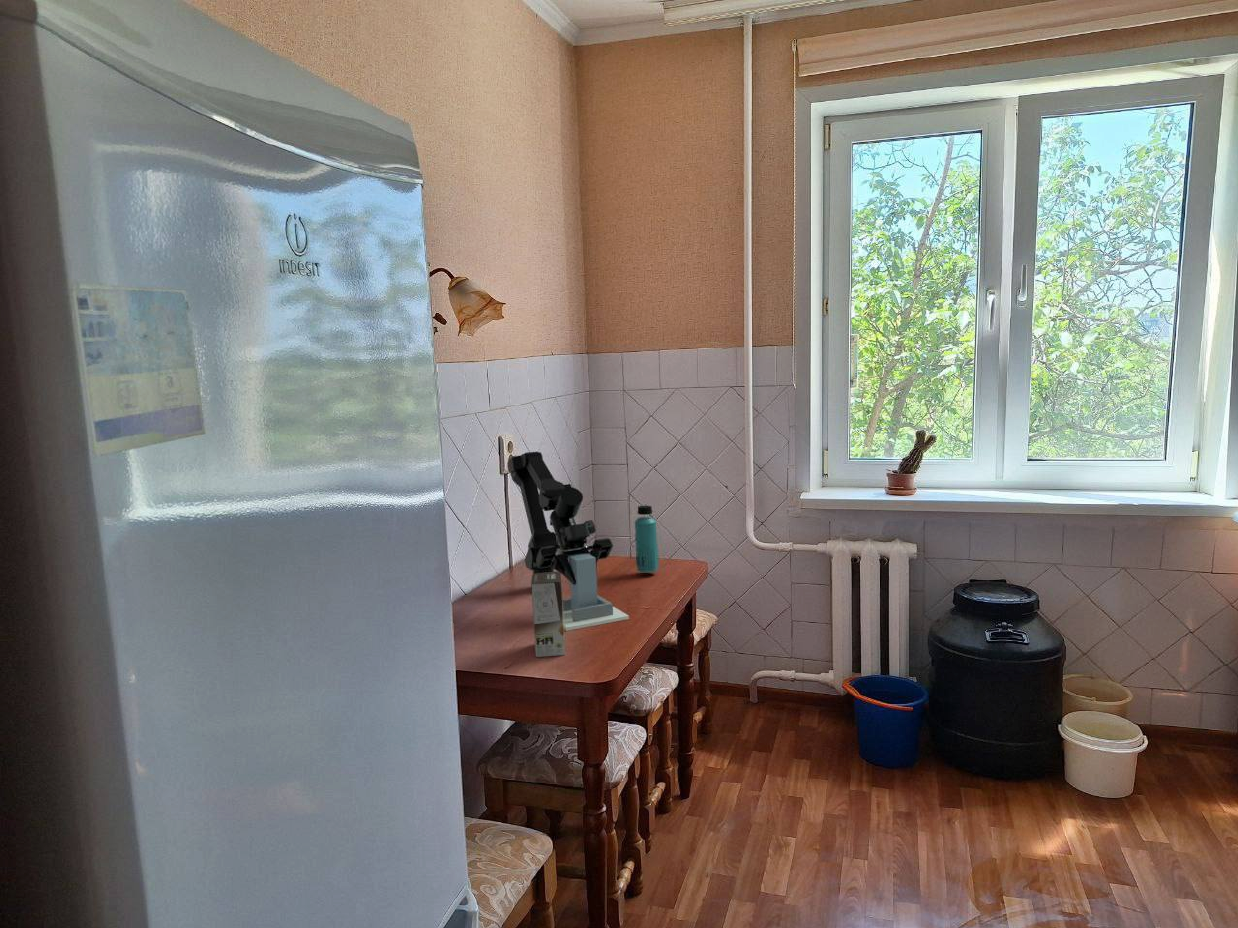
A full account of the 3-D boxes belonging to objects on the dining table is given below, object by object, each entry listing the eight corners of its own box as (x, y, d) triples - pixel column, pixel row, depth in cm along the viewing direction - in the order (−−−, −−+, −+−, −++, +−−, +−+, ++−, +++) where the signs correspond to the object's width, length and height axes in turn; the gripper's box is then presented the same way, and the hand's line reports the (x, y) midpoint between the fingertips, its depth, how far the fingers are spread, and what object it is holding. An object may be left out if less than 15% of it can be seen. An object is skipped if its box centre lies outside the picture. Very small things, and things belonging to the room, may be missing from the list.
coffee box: (565, 655, 175) (561, 581, 173) (535, 657, 174) (530, 583, 172) (564, 641, 184) (560, 570, 182) (536, 643, 183) (531, 572, 181)
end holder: (542, 613, 205) (542, 599, 205) (601, 602, 212) (601, 589, 211) (566, 630, 191) (565, 616, 190) (628, 618, 197) (628, 604, 197)
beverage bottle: (662, 572, 239) (659, 503, 236) (655, 578, 233) (652, 508, 230) (640, 571, 241) (637, 503, 238) (633, 577, 235) (630, 507, 232)
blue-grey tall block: (571, 608, 202) (568, 556, 200) (590, 604, 204) (587, 553, 203) (579, 613, 198) (576, 560, 196) (598, 610, 200) (595, 557, 198)
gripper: (537, 515, 198) (556, 569, 189) (608, 505, 205) (629, 558, 197) (528, 541, 206) (546, 594, 197) (597, 531, 213) (617, 582, 205)
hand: (585, 582), depth 199 cm, fingers closed on blue-grey tall block, 5 cm apart
